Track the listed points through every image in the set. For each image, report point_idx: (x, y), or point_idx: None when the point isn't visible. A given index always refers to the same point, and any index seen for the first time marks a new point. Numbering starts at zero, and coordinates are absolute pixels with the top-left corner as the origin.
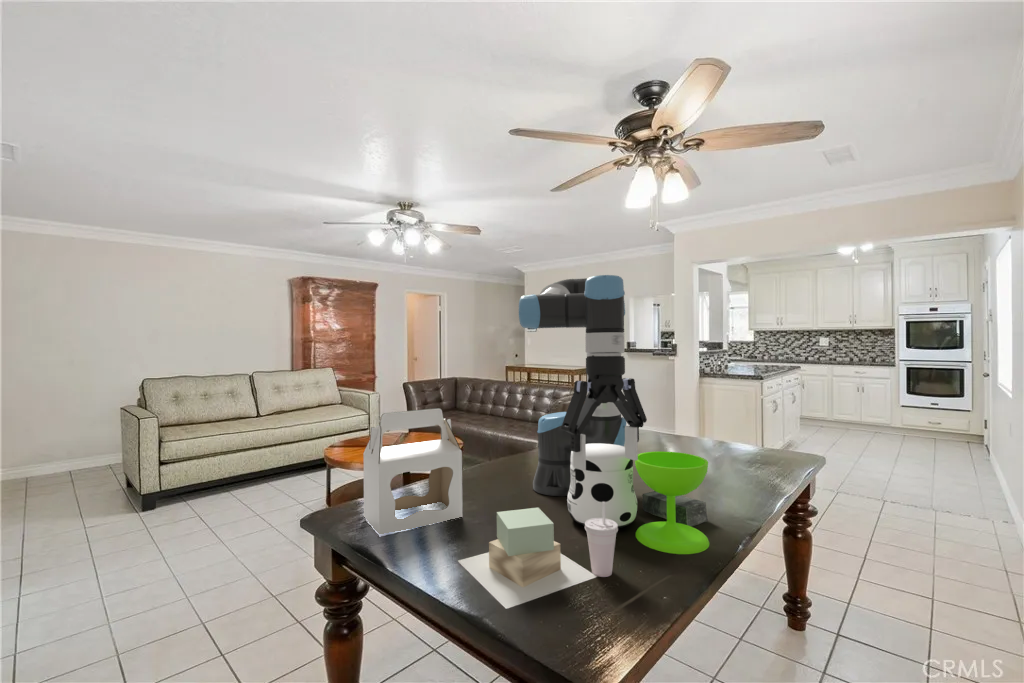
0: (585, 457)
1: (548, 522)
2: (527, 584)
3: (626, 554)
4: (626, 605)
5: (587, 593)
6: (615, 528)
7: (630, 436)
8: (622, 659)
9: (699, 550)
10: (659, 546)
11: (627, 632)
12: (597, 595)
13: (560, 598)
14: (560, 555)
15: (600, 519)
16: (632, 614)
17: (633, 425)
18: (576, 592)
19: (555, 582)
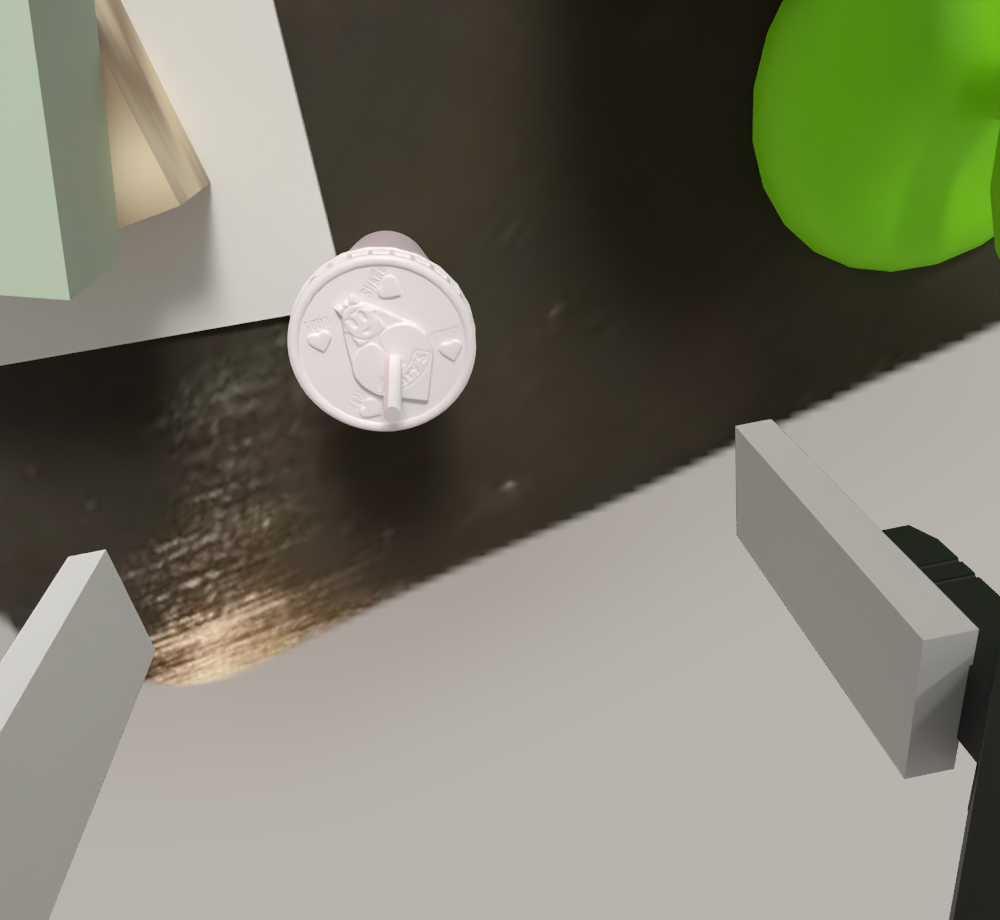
0: (120, 733)
1: (38, 274)
2: None
3: (601, 152)
4: (358, 483)
5: (259, 379)
6: (426, 421)
7: (843, 636)
8: (218, 657)
9: (904, 269)
10: (778, 182)
11: (287, 585)
12: (290, 403)
13: (141, 373)
14: (194, 194)
15: (416, 285)
16: (349, 526)
17: (973, 738)
18: (219, 359)
19: (148, 280)
